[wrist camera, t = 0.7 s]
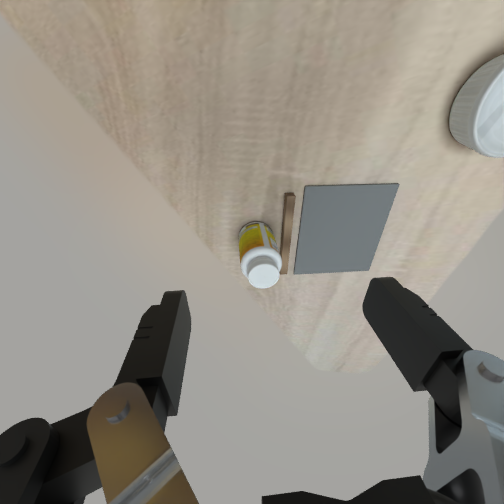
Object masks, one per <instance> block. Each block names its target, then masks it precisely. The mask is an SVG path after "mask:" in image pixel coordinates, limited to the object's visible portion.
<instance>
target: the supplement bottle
mask: <svg viewBox="0 0 504 504" xmlns="http://www.w3.org/2000/svg"><path fill="white" fill-rule="evenodd" d="M239 252H240V264H241V270H242V272H243V274H244V275H245V276H246V277H247V278H248V280H249V282H250V284H251V285H252V286H254V287H256V288H268V287H271V286H273V285H274V284H275V283H276V282H277V281H278V279H279V271H280V270H281V267H282V259H281V256H280V253H279V250H278V247H277V244H276V241H275V238H274V235H273V232H272V230H271V229H270V227H269V226H267V225H266V224H264V223H261V222H253V223H249V224H247V225H246V226H244V227H243V228H242V230H241V231H240V233H239Z"/></svg>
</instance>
